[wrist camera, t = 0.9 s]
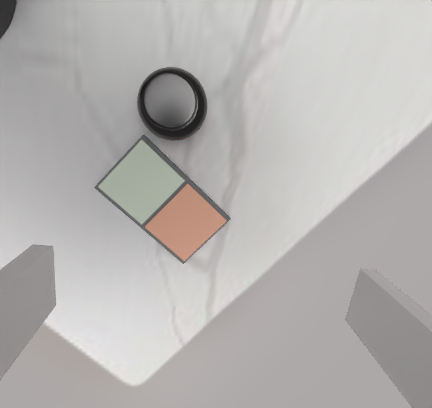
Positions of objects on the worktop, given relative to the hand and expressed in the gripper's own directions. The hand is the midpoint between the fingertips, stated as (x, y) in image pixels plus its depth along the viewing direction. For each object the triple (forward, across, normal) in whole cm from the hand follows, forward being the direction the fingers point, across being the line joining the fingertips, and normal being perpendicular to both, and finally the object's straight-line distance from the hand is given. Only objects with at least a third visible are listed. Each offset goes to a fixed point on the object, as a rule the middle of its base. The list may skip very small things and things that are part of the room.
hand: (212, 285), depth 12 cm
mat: (+26, -4, -5) cm, 27 cm away
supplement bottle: (+27, -4, +8) cm, 28 cm away
